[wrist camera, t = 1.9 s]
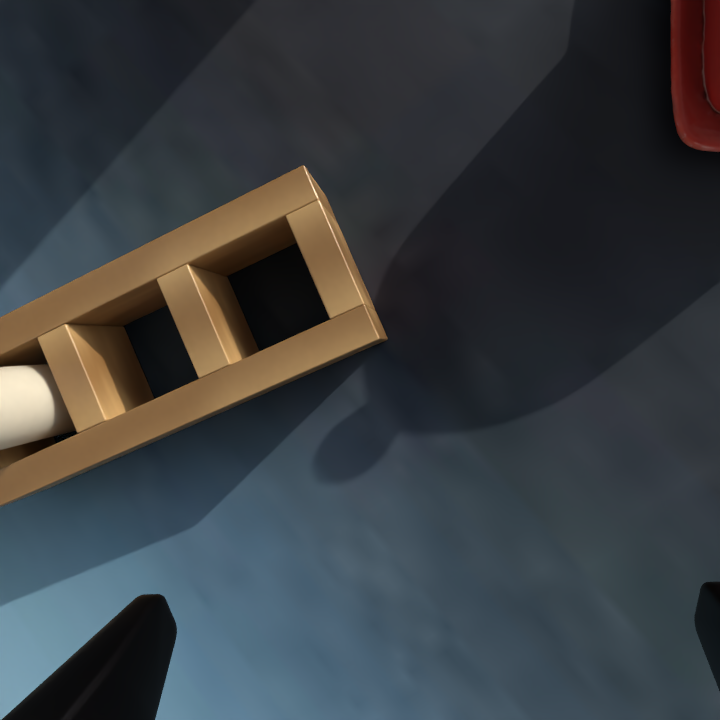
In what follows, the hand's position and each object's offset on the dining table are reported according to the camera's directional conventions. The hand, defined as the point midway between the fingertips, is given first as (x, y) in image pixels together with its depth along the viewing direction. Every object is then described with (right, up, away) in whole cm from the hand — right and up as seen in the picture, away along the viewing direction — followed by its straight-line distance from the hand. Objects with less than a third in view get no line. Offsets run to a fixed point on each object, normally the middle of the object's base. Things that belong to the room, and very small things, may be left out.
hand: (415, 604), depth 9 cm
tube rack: (-9, +5, +15) cm, 18 cm away
